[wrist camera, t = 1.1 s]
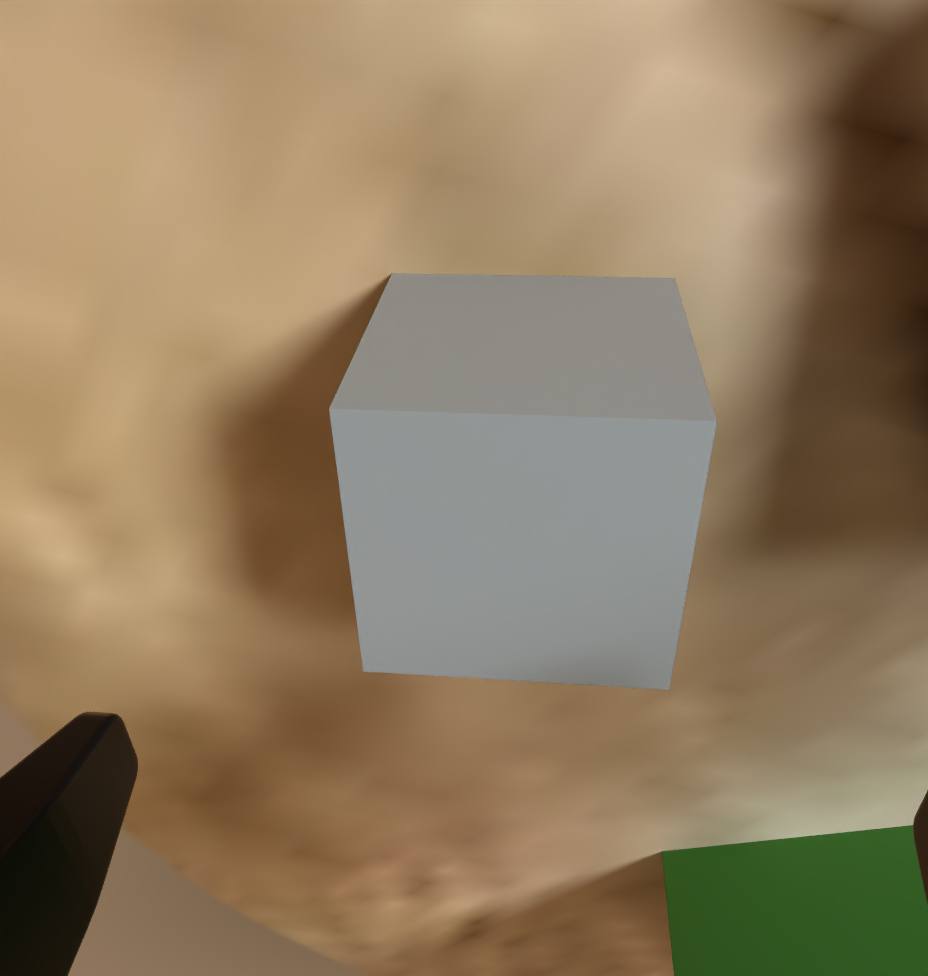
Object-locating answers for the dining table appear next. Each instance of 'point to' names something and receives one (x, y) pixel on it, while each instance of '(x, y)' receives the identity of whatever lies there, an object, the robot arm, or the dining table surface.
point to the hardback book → (799, 907)
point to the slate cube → (523, 477)
